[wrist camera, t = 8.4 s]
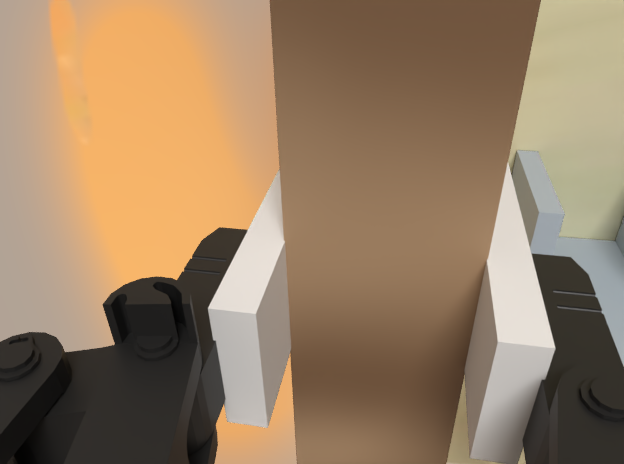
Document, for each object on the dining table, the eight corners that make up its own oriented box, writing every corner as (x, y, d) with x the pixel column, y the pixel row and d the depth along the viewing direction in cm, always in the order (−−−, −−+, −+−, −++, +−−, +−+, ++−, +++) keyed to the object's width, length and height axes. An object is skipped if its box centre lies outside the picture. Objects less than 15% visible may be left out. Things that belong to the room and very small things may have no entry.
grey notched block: (516, 150, 27) (581, 331, 16) (667, 157, 26) (840, 356, 15) (484, 303, 33) (517, 511, 22) (607, 314, 32) (702, 538, 21)
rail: (327, -111, 11) (228, -92, 6) (510, -114, 10) (591, -97, 5) (329, 407, 20) (291, 601, 14) (426, 420, 19) (423, 627, 14)
